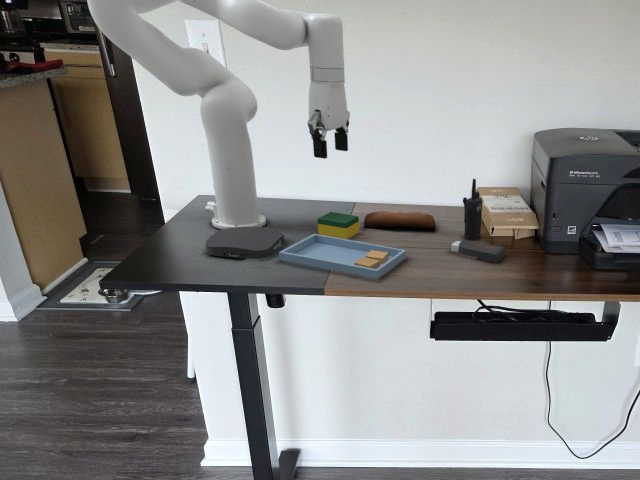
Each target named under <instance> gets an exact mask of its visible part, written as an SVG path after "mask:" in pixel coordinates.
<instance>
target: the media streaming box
mask: <svg viewBox="0 0 640 480" xmlns="http://www.w3.org/2000/svg"><path fill="white" fill-rule="evenodd" d="M284 244H285V234H284V233H283V232H281V231H279V230H277V229H274V228H268V227H263V226H262V227H234V228H228V229H219V230H217V231H216V232H214V233H213V234H211V235H210V236H209V237H208V238H207V239H206V240H205V248H206V253H207V254H208V255H211V256H215V257H225V258H233V259H264V258H268V257H271V256H272V255H273V254H275V253H276V252H277V251H278V250H279V249H280V248H282V246H283V245H284Z"/></svg>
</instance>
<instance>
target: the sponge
mask: <svg viewBox="0 0 640 480" xmlns="http://www.w3.org/2000/svg"><path fill="white" fill-rule="evenodd" d="M359 217H360V216H358V215H353V214H352V215H351V214H348V213H341V212H336V211H329V212H327V213H326V214H324V215H322V216H320V217H318V218H317V230H318V233H317V234H319V235H325V236H330V237H336V238H341V239H347V240H349V239H350V238H352V237H353V236H355V235H357V234H359V233H360V223H359Z"/></svg>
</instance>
